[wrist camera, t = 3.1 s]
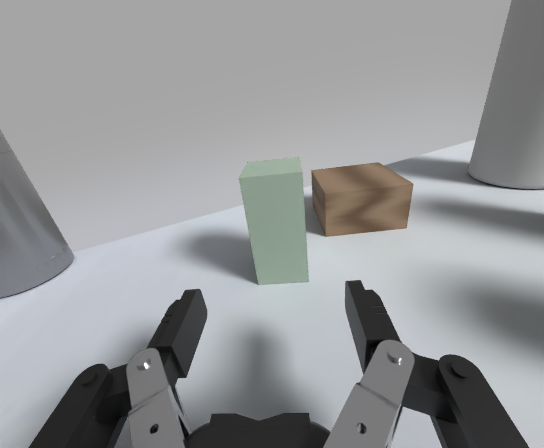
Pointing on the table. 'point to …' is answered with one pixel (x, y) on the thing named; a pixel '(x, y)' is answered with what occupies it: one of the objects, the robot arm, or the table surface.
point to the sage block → (276, 219)
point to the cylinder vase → (515, 105)
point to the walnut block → (360, 199)
